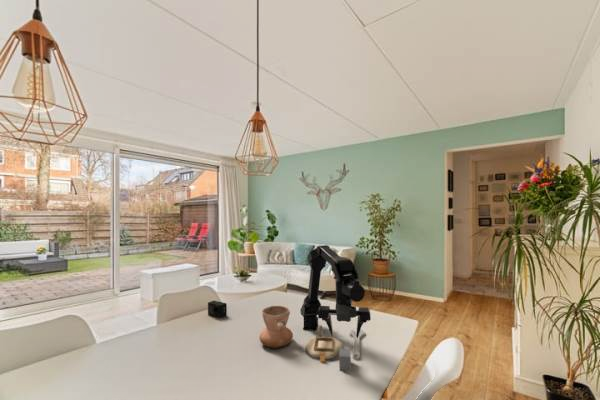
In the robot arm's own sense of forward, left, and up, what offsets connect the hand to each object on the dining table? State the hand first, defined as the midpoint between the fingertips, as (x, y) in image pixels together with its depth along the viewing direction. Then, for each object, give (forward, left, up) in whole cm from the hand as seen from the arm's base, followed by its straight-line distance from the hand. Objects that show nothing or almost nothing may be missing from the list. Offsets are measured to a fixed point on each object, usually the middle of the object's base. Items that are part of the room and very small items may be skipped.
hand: (344, 336), depth 101 cm
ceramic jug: (-30, +14, -11) cm, 35 cm away
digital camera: (-71, +40, -11) cm, 82 cm away
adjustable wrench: (+4, +17, -11) cm, 21 cm away
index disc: (-8, +10, -11) cm, 17 cm away
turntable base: (-8, +10, -11) cm, 17 cm away
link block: (0, 0, -11) cm, 11 cm away
